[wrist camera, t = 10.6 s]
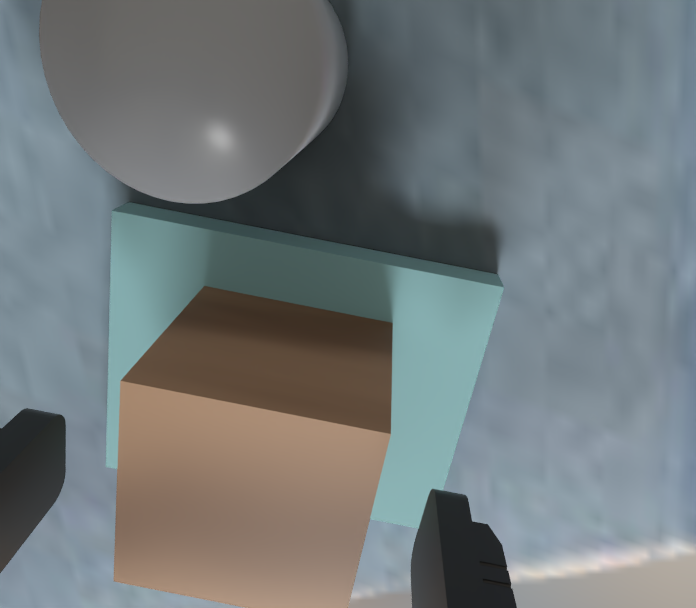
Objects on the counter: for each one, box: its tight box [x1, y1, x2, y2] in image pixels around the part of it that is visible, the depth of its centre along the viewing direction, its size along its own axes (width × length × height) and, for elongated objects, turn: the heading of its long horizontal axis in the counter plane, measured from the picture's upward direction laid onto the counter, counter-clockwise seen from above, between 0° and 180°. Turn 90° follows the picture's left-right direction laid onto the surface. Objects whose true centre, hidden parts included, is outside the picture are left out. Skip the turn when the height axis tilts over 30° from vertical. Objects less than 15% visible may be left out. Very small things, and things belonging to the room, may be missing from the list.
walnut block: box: [114, 286, 393, 608], centre depth 14 cm, size 5×5×5 cm
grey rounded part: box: [39, 0, 348, 203], centre depth 12 cm, size 4×4×6 cm
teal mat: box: [106, 202, 504, 529], centre depth 17 cm, size 10×8×1 cm
